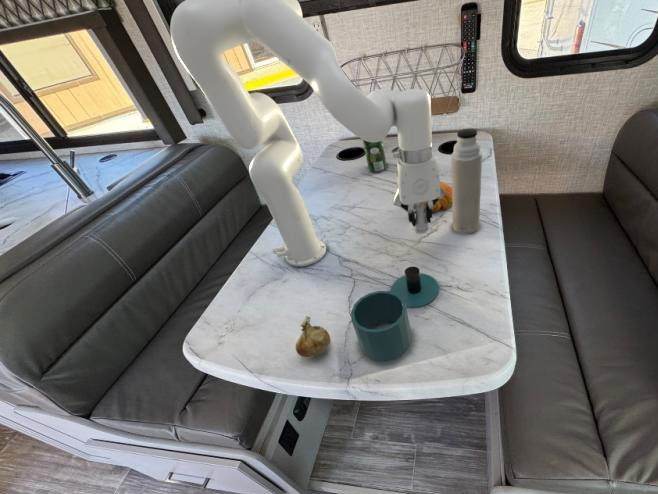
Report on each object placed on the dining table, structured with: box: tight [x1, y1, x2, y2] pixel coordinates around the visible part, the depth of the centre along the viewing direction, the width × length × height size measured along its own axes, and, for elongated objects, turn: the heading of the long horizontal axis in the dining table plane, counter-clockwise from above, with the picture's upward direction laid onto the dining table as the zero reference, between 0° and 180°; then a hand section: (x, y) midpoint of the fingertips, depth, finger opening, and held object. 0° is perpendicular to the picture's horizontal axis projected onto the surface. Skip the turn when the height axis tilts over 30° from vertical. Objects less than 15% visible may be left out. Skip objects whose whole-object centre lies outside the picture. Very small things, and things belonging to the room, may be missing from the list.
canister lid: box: [390, 266, 440, 309], centre depth 83 cm, size 12×12×7 cm
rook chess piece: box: [412, 202, 430, 235], centre depth 89 cm, size 4×4×8 cm
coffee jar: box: [361, 139, 387, 173], centre depth 135 cm, size 10×8×19 cm
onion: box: [295, 315, 331, 358], centre depth 74 cm, size 8×8×8 cm
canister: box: [350, 290, 412, 363], centre depth 72 cm, size 11×11×10 cm
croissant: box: [424, 180, 453, 213], centre depth 114 cm, size 14×16×8 cm
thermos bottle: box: [450, 127, 483, 234], centre depth 94 cm, size 8×8×28 cm
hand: (420, 221), depth 90 cm, fingers closed on rook chess piece, 3 cm apart
